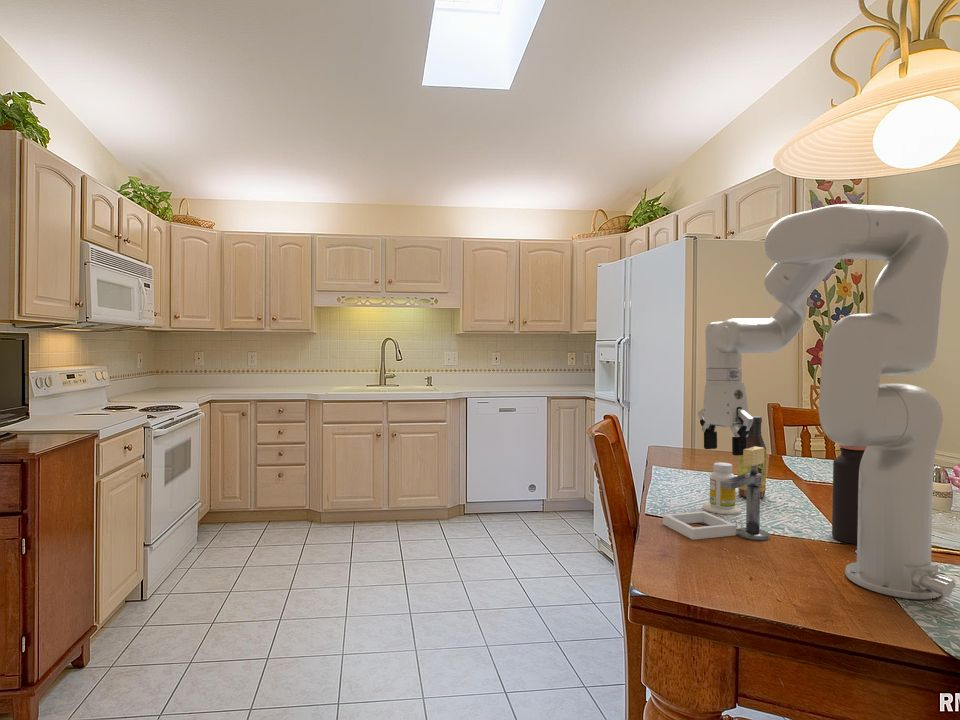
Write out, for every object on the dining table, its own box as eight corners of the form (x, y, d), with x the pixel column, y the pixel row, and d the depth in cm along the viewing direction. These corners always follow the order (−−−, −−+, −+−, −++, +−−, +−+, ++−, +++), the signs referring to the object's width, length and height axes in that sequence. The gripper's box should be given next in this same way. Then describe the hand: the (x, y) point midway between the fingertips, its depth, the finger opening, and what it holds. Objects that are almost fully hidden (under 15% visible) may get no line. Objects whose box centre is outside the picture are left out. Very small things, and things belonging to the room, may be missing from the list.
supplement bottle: (738, 506, 132) (739, 463, 132) (730, 511, 128) (730, 467, 128) (715, 501, 136) (715, 460, 136) (705, 506, 132) (706, 464, 132)
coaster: (748, 513, 130) (748, 509, 130) (718, 515, 128) (718, 512, 128) (724, 503, 138) (724, 500, 138) (695, 505, 135) (695, 502, 135)
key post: (776, 539, 113) (777, 488, 112) (750, 541, 111) (751, 490, 111) (754, 529, 118) (755, 480, 118) (729, 532, 117) (730, 482, 116)
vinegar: (833, 531, 117) (835, 433, 117) (873, 538, 113) (876, 436, 113) (830, 541, 112) (832, 437, 111) (873, 548, 108) (875, 440, 107)
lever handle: (766, 483, 115) (767, 448, 115) (733, 494, 106) (734, 456, 106) (751, 480, 117) (752, 445, 117) (718, 491, 108) (718, 454, 108)
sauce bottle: (762, 500, 140) (763, 418, 139) (734, 496, 144) (736, 416, 143) (768, 495, 145) (769, 416, 144) (741, 491, 149) (742, 414, 148)
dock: (736, 535, 115) (736, 525, 115) (692, 539, 112) (692, 529, 112) (704, 520, 124) (704, 511, 124) (663, 524, 122) (663, 514, 122)
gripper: (765, 376, 124) (766, 456, 124) (713, 375, 141) (713, 445, 141) (735, 377, 122) (736, 458, 122) (686, 375, 139) (686, 447, 139)
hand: (724, 451), depth 132 cm, fingers open, 9 cm apart
